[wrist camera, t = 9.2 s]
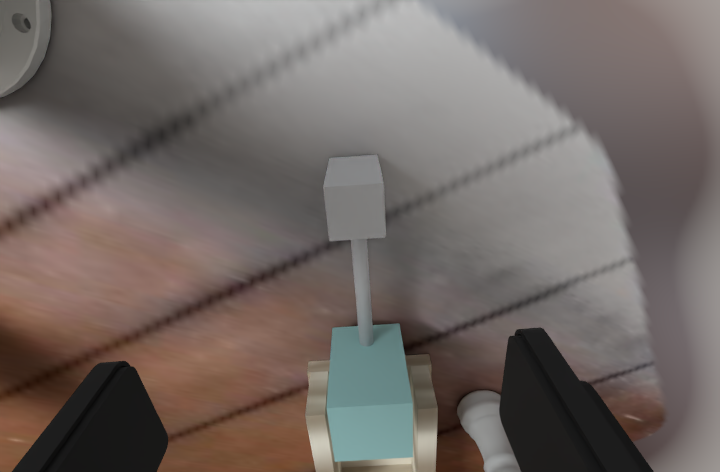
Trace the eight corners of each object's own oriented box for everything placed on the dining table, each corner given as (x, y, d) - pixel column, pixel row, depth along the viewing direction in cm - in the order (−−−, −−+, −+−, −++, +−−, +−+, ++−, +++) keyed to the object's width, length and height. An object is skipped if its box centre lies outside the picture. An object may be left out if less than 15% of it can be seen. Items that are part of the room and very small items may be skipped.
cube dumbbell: (313, 159, 23) (295, 209, 16) (393, 153, 23) (411, 201, 16) (339, 365, 31) (334, 461, 24) (399, 362, 31) (413, 457, 24)
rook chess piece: (446, 401, 34) (471, 497, 27) (490, 379, 33) (528, 472, 25) (471, 427, 35) (500, 523, 28) (513, 407, 34) (556, 502, 27)
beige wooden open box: (308, 361, 31) (300, 416, 27) (429, 353, 31) (442, 407, 26) (326, 465, 38) (322, 524, 33) (426, 459, 37) (437, 517, 33)
